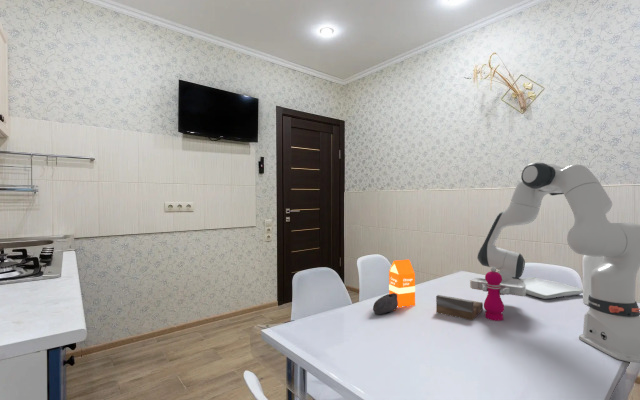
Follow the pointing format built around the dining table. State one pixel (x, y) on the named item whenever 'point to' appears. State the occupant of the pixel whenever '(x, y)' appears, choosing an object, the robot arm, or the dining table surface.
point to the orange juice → (402, 282)
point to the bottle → (588, 274)
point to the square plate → (549, 288)
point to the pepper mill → (493, 296)
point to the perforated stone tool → (385, 304)
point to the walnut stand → (458, 307)
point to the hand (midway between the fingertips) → (493, 290)
